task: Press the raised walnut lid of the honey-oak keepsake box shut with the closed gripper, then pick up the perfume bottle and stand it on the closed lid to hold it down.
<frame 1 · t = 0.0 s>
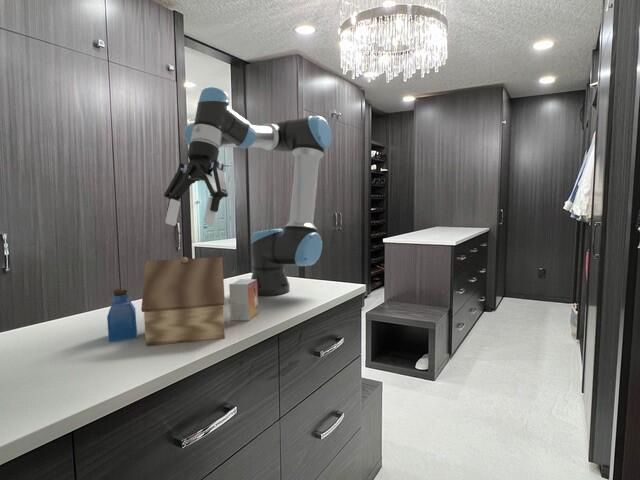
hand: (188, 224, 104), 28 cm above the counter, tool tilted 20°, fingers open, 13 cm apart
keepsake box: (188, 333, 106), on the counter
lid: (184, 281, 102), point 14 cm above the counter, hinge at 45.0°
small box: (245, 317, 120), on the counter
perfume bottle: (123, 337, 105), on the counter
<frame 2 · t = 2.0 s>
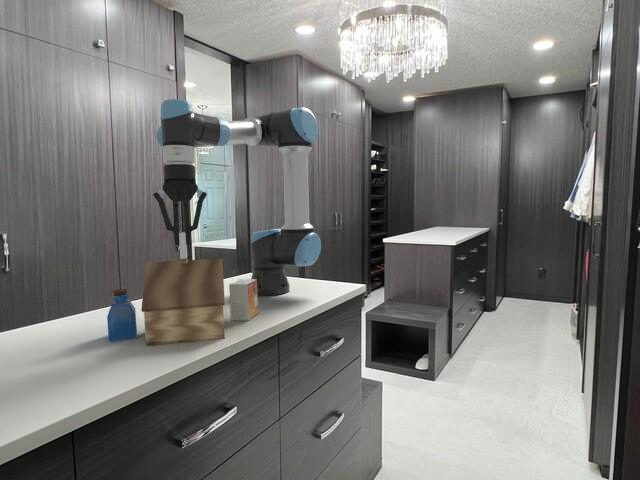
hand: (183, 257, 105), 19 cm above the counter, tool pointing down, fingers closed
lid: (184, 282, 102), point 14 cm above the counter, hinge at 42.5°, touching gripper
everything else where it was.
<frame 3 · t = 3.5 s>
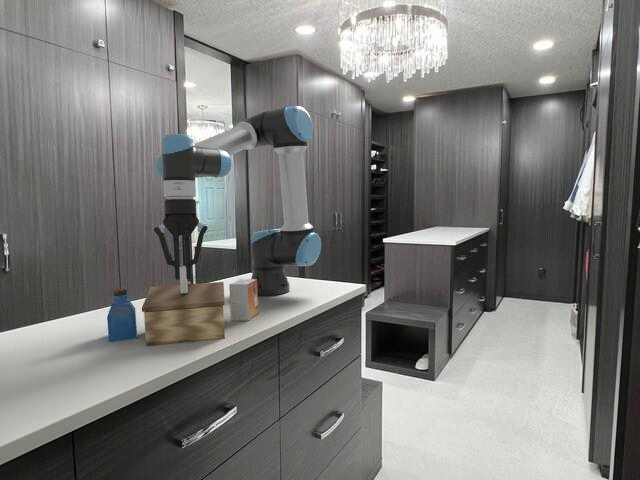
hand: (184, 291, 105), 11 cm above the counter, tool pointing down, fingers closed
lid: (186, 294, 105), point 10 cm above the counter, hinge at 9.2°, touching gripper
everything else where it was.
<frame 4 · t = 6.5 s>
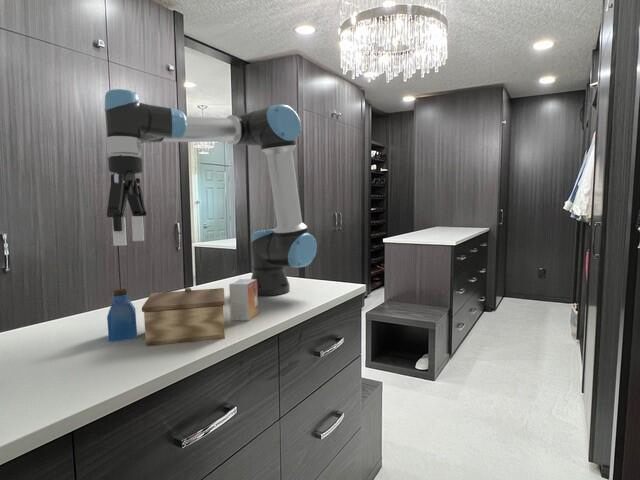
hand: (129, 243, 103), 24 cm above the counter, tool pointing down, fingers open, 13 cm apart
lid: (186, 297, 105), point 9 cm above the counter, hinge at 2.1°
everything else where it was.
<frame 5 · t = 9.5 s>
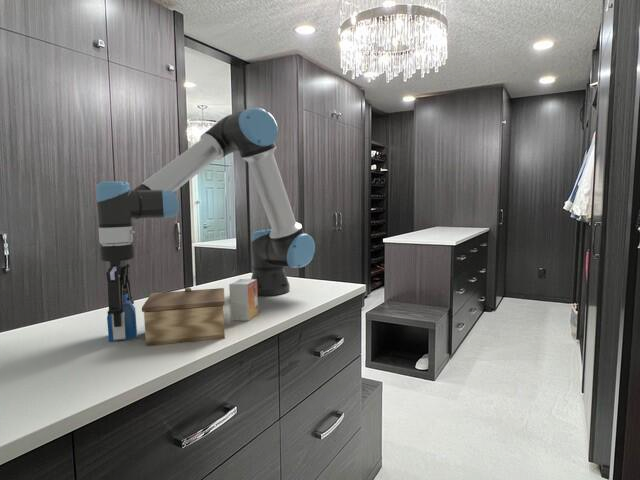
hand: (123, 334, 105), 1 cm above the counter, tool pointing down, fingers closed on perfume bottle, 7 cm apart
perfume bottle: (123, 337, 105), on the counter, touching gripper
everything else where it was.
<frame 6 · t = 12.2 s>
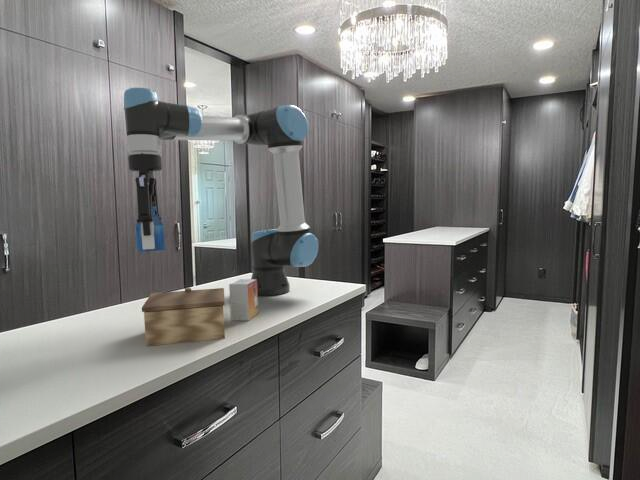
hand: (151, 247, 104), 22 cm above the counter, tool pointing down, fingers closed on perfume bottle, 7 cm apart
perfume bottle: (151, 250, 104), point 22 cm above the counter, touching gripper
everything else where it was.
when the fingers open (11 cm above the counter, at t = 15.3 s): perfume bottle drops 1 cm, resting on lid.
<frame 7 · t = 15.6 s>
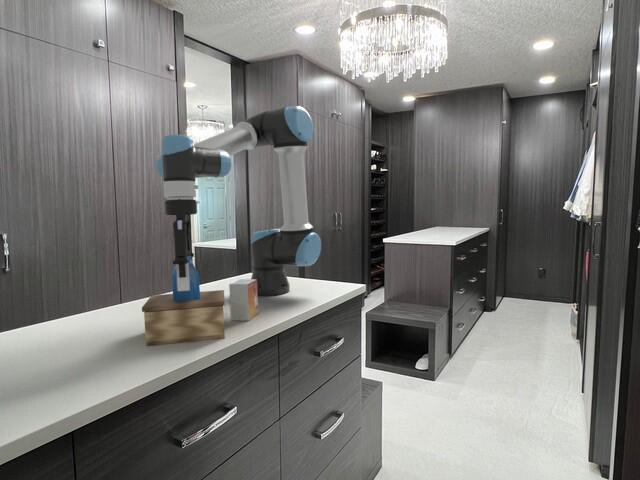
hand: (185, 286, 105), 12 cm above the counter, tool pointing down, fingers open, 11 cm apart
lid: (186, 298, 105), point 9 cm above the counter, hinge at -0.3°, touching perfume bottle
perfume bottle: (186, 298, 105), point 9 cm above the counter, touching lid
everything else where it was.
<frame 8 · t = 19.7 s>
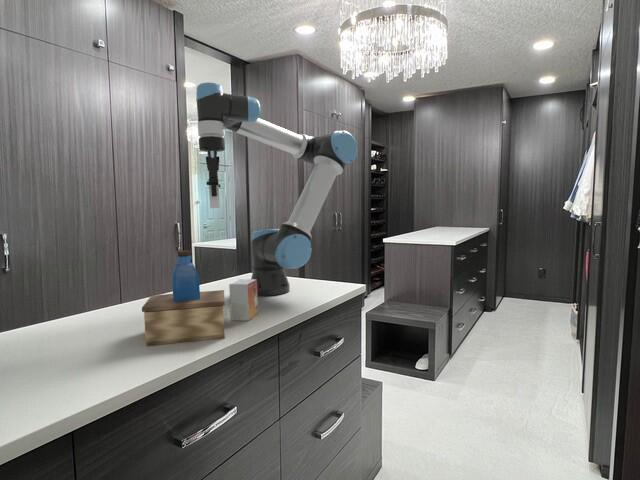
hand: (215, 208, 126), 32 cm above the counter, tool pointing down, fingers open, 13 cm apart
nothing on the counter moved.
at the end: lid at +0° (first picture: +45°); perfume bottle inside the target area on the keepsake box (0.1 cm from its centre), point 9.0 cm above the keepsake box's base; perfume bottle tilted 0° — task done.
